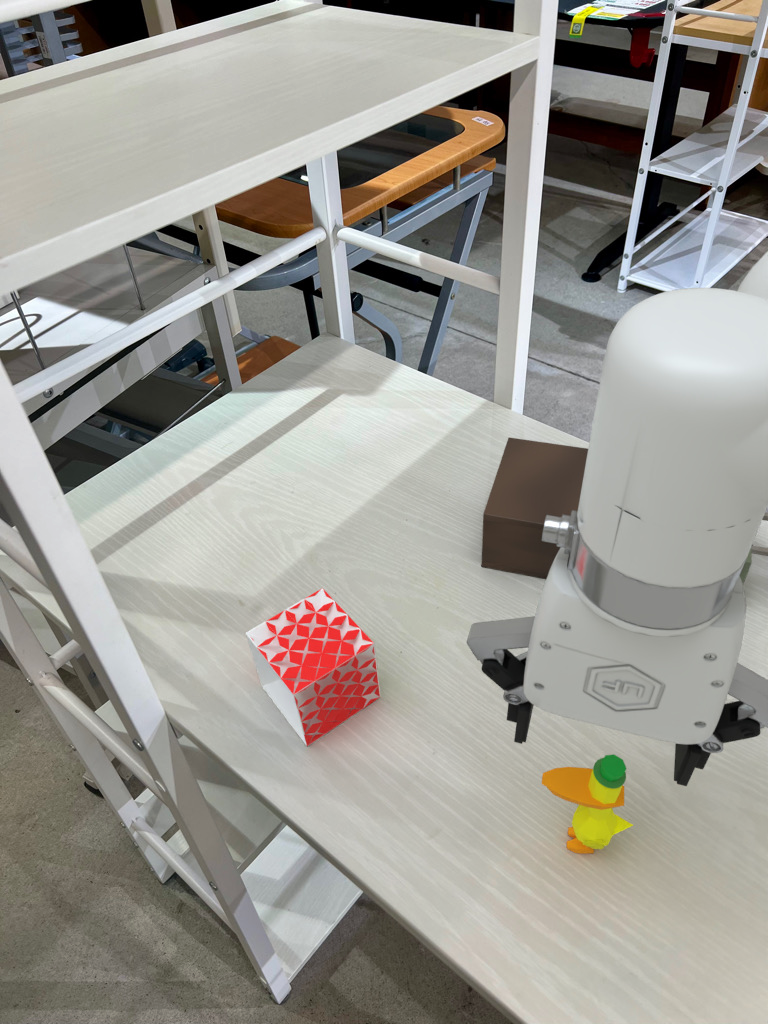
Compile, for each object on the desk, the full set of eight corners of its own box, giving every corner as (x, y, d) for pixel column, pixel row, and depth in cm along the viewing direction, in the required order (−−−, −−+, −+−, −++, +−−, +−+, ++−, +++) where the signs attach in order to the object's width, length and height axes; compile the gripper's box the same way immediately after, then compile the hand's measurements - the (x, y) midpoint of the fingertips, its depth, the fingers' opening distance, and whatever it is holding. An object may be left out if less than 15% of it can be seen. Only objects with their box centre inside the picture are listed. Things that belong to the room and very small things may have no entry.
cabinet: (636, 510, 82) (648, 456, 77) (625, 594, 74) (639, 540, 69) (505, 489, 86) (508, 437, 81) (481, 566, 78) (483, 513, 73)
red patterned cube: (380, 697, 67) (374, 643, 62) (307, 747, 64) (293, 695, 58) (331, 641, 72) (321, 587, 66) (261, 685, 69) (244, 632, 63)
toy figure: (531, 854, 56) (544, 776, 48) (535, 809, 59) (548, 728, 50) (624, 874, 55) (654, 797, 47) (624, 827, 57) (653, 746, 49)
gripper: (455, 575, 35) (451, 759, 47) (868, 660, 30) (749, 840, 42) (489, 475, 40) (478, 663, 52) (847, 534, 36) (746, 726, 47)
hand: (600, 743), depth 47 cm, fingers open, 9 cm apart
